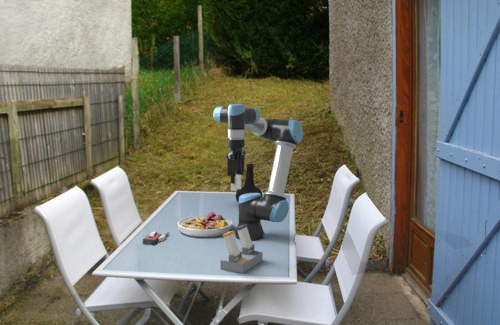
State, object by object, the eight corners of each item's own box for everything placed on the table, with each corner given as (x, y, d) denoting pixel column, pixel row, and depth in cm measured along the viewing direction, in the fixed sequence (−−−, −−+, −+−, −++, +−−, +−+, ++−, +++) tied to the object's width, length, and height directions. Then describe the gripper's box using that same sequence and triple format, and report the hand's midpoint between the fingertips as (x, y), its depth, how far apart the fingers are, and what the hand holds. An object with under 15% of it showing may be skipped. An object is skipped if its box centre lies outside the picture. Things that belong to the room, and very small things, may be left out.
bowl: (224, 240, 275) (224, 226, 274) (169, 237, 281) (169, 222, 279) (237, 225, 304) (237, 212, 303) (187, 222, 310) (187, 209, 308)
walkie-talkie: (157, 246, 265) (170, 235, 284) (157, 238, 264) (170, 227, 283) (141, 245, 266) (154, 234, 286) (140, 236, 265) (154, 226, 285)
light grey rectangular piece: (243, 253, 241) (235, 228, 242) (249, 249, 246) (241, 225, 246) (248, 252, 240) (241, 226, 240) (254, 248, 245) (246, 224, 245)
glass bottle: (232, 207, 347) (232, 165, 343) (240, 201, 364) (240, 161, 359) (258, 209, 342) (258, 166, 337) (265, 203, 359) (266, 162, 354)
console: (220, 268, 233) (220, 253, 232) (241, 256, 250) (241, 242, 249) (242, 273, 228) (242, 257, 227) (262, 260, 245) (262, 245, 244)
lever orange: (230, 260, 231) (222, 234, 231) (236, 257, 236) (228, 231, 236) (235, 259, 230) (227, 233, 230) (241, 256, 234) (233, 230, 234)
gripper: (238, 136, 248) (237, 185, 251) (219, 139, 233) (219, 192, 237) (252, 137, 244) (251, 187, 248) (234, 140, 230) (234, 193, 233)
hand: (235, 189), depth 242 cm, fingers open, 4 cm apart
